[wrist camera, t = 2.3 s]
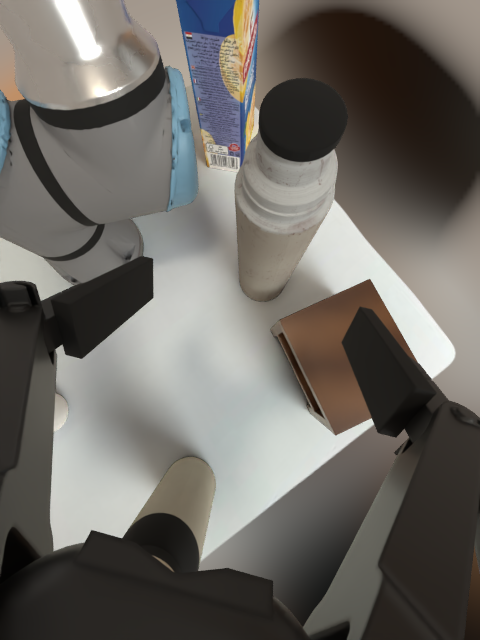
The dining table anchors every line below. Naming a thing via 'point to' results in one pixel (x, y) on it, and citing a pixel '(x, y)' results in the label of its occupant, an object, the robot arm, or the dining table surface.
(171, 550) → the travel mug
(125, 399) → the dining table surface
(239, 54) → the beverage box
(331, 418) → the box
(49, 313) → the robot arm
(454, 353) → the dining table surface
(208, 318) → the dining table surface
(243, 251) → the thermos bottle
